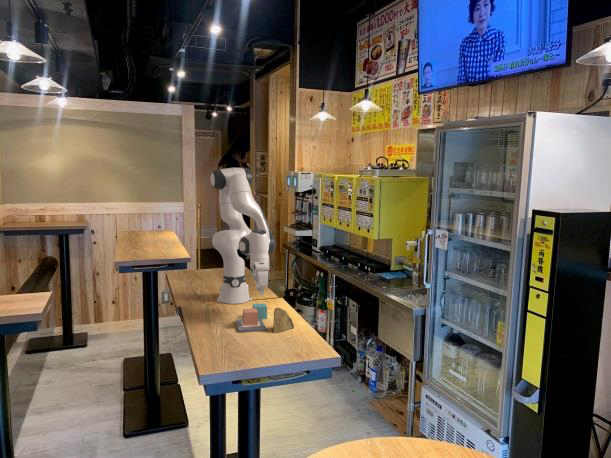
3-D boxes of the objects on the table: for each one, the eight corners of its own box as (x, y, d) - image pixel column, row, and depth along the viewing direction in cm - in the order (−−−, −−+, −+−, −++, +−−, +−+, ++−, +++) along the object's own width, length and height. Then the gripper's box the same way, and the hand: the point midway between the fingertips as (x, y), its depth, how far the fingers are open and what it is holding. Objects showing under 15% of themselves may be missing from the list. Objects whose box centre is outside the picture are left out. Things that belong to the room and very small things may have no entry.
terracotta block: (242, 321, 209) (242, 309, 209) (256, 321, 211) (256, 308, 210) (244, 325, 203) (244, 312, 203) (257, 325, 205) (257, 312, 204)
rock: (294, 319, 209) (272, 317, 208) (297, 308, 204) (274, 305, 202) (293, 340, 201) (270, 337, 200) (296, 329, 196) (273, 326, 194)
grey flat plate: (235, 321, 213) (235, 319, 213) (261, 319, 216) (261, 317, 216) (238, 332, 198) (238, 330, 198) (266, 330, 201) (266, 328, 201)
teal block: (252, 316, 222) (252, 304, 222) (264, 315, 224) (265, 303, 223) (254, 319, 216) (254, 307, 216) (267, 319, 218) (267, 306, 217)
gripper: (250, 261, 226) (251, 288, 228) (256, 267, 207) (256, 298, 208) (263, 260, 228) (263, 287, 229) (269, 267, 208) (270, 297, 209)
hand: (260, 292), depth 218 cm, fingers open, 8 cm apart
